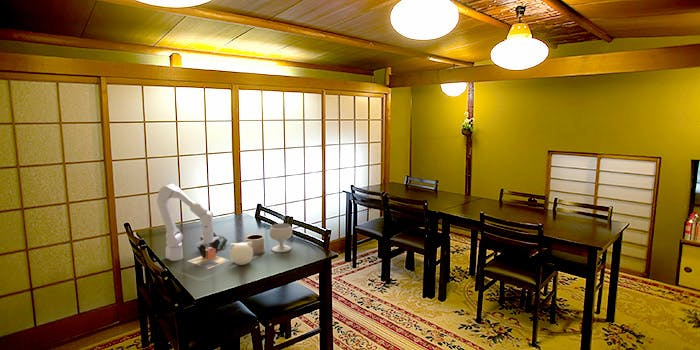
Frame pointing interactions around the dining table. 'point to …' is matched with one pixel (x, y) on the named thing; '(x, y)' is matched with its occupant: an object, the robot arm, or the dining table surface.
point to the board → (208, 261)
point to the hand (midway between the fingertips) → (209, 255)
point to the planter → (256, 243)
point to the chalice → (280, 236)
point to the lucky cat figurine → (222, 240)
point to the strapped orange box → (210, 253)
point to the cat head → (241, 253)
